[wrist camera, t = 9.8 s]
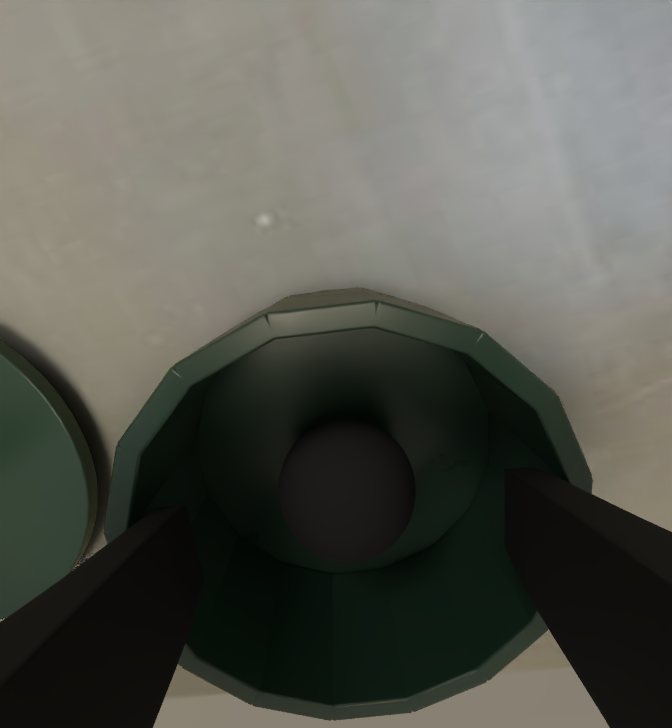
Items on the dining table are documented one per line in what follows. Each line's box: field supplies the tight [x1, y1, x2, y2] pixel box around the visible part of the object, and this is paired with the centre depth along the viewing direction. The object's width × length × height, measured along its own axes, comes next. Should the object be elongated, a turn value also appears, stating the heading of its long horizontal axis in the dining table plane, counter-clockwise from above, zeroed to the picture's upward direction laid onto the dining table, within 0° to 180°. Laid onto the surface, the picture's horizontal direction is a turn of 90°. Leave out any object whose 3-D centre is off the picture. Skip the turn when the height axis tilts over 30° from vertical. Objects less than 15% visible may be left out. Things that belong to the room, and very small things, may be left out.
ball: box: [278, 418, 416, 563], centre depth 10 cm, size 4×4×4 cm
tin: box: [104, 288, 593, 720], centre depth 10 cm, size 10×10×4 cm
